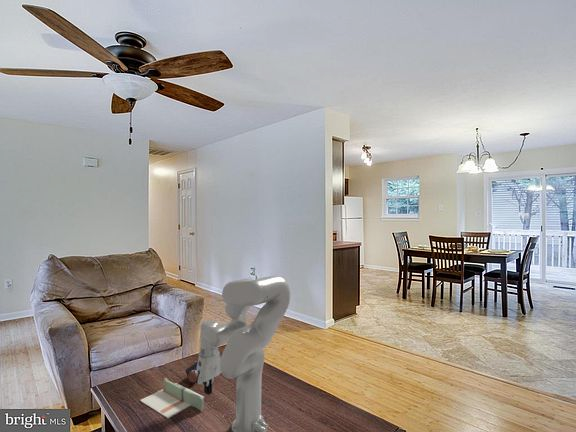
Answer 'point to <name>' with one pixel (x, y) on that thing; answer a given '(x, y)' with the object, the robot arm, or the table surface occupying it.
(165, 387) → the fixed fence panel
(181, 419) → the table surface
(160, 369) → the table surface
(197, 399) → the hinged fence panel
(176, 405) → the card
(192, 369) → the character figurine
